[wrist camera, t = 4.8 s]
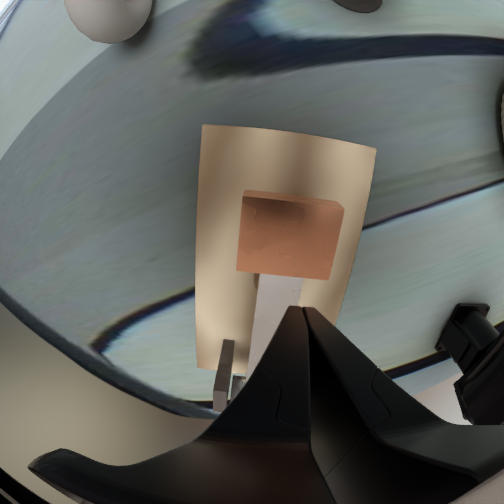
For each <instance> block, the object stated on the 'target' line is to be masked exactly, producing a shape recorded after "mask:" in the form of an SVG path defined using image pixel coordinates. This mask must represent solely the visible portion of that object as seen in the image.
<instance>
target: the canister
mask: <svg viewBox="0 0 504 504" xmlns="http://www.w3.org/2000/svg"><path fill="white" fill-rule="evenodd" d="M501 109H502V110H501V124H502V133H503V138H504V94H503V96H502V104H501ZM503 142H504V140H503Z"/></svg>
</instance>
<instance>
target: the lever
mask: <svg viewBox="0 0 504 504" xmlns="http://www.w3.org/2000/svg"><path fill="white" fill-rule="evenodd" d="M344 211H345V209H344V208H343V207H342V206H341V205H340V204H339V203H338V202H337V201H332V200H325V199H318V198H312V197H304V196H297V195H289V194H282V193H273V192H265V191H256V190H246V189H245V191H244V193H243V197H242V208H241V219H240V230H239V241H238V253H237V265H236V271H242V272H251V273H260V275H259V282H258V290H257V298H256V306H255V313H254V321H253V328H252V336H251V343H250V351H249V358H248V365H247V372H246V377H244V376H235V375H233V381H232V389H231V398H230V403H231V401H232V400H233V399H234V398H235V397H236V395H237V394H238V393H239V392H240V390H241V389H242V388H243V387H244V385H245V384H246V382H247V381H248V379H249V377H250V376H251V374H252V373H253V371H254V369H255V367H256V366H257V364H258V362H259V360H260V359H261V357H262V355H263V353H264V351H265V349H266V348H267V346H268V344H269V342H270V340H271V338H272V336H273V335H274V333H275V331H276V329H277V327H278V325H279V323H280V321H281V319H282V317H283V316H284V314H285V312H286V310H287V308H288V306H289V305H293V306H298V303H299V298H300V294H301V289H302V285H303V280H304V278H308V279H318V280H328V281H329V277H330V273H331V269H332V265H333V261H334V257H335V253H336V248H337V244H338V239H339V235H340V230H341V226H342V221H343V216H344Z"/></svg>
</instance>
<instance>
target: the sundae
mask: <svg viewBox="0 0 504 504" xmlns="http://www.w3.org/2000/svg"><path fill="white" fill-rule="evenodd" d="M334 1H335V2H336V3H338V4H340V5H341V6H343V7H345V8H347V9H350V10H353V11H356V12H363V13H369V12H373V11H375V10H377V9H378V8H379V7H380V6H381V4H382V0H334Z"/></svg>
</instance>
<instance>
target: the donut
mask: <svg viewBox="0 0 504 504" xmlns="http://www.w3.org/2000/svg"><path fill="white" fill-rule="evenodd" d="M152 1H153V0H64V4H65V7H66V10H67V12H68V15H69V17H70V19H71V21H72V22H73V23H74V25H75V26H76V27H77V29H78V30H79V31H80V32H81V33H83V34H84V35H86V36H87V37H88V38H90V39H91V40H93V41H97V42H102V43H107V44H113V43H117V42H120V41H123V40H126V39H128V38H131V37H132V36H133V35H135V34H136V33H137V32H138V31H139V30H140V29H141V28H142V27H143V25H144V24H145V22H146V20H147V18H148V16H149V14H150V10H151V6H152Z"/></svg>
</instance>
